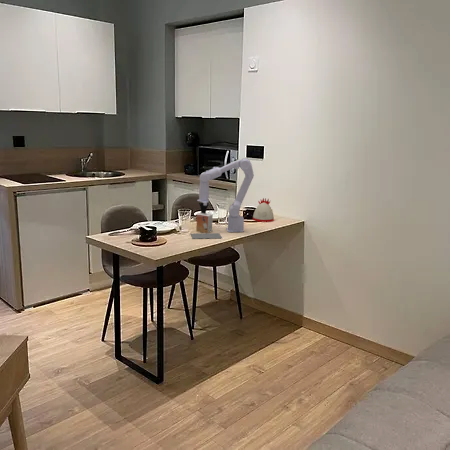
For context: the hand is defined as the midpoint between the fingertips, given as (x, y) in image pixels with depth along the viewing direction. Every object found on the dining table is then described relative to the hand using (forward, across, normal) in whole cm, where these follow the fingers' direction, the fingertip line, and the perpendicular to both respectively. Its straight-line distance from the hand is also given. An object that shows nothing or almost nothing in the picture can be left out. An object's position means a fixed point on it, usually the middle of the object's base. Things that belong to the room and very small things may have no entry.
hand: (203, 214), depth 287 cm
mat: (+9, +16, 0) cm, 18 cm away
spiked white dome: (+9, -24, +44) cm, 51 cm away
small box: (+9, +5, 0) cm, 10 cm away
